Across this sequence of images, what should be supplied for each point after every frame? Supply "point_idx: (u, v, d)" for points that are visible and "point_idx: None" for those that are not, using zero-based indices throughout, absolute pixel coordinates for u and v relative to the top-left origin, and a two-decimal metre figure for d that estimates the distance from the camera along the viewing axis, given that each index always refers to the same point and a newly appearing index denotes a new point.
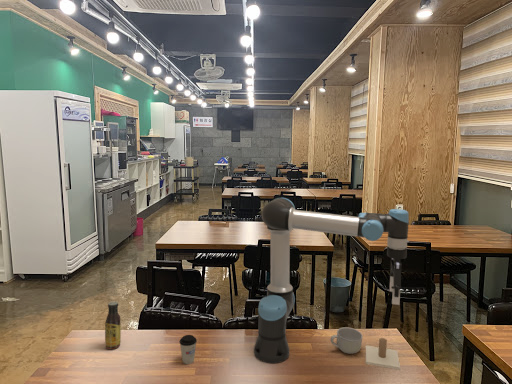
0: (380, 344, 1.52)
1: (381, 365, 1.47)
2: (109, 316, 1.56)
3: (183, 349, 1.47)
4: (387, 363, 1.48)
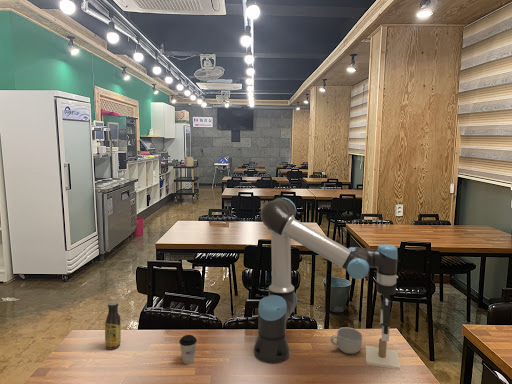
0: (380, 344, 1.52)
1: (381, 365, 1.47)
2: (109, 316, 1.56)
3: (183, 349, 1.47)
4: (387, 363, 1.48)
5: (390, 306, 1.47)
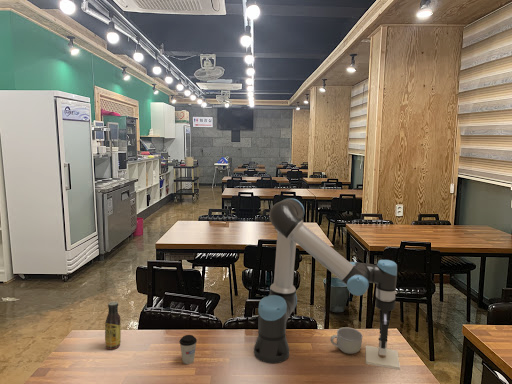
0: None
1: (381, 365, 1.47)
2: (109, 316, 1.56)
3: (183, 349, 1.47)
4: (387, 363, 1.48)
5: (388, 322, 1.49)
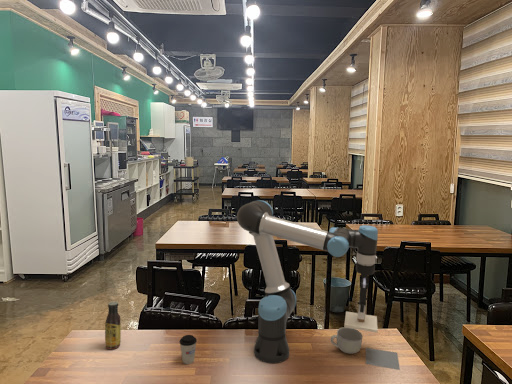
0: None
1: (359, 328, 1.49)
2: (109, 316, 1.56)
3: (183, 349, 1.47)
4: (365, 326, 1.50)
5: None
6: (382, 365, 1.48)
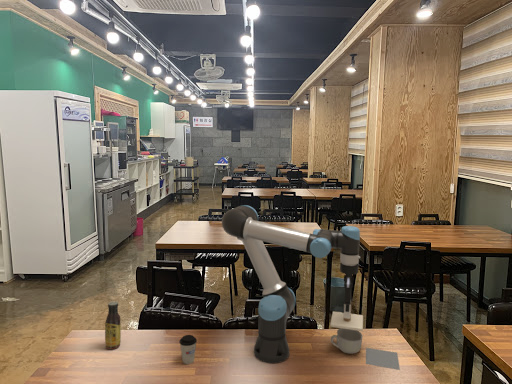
0: None
1: (345, 327, 1.52)
2: (109, 316, 1.56)
3: (183, 349, 1.47)
4: (351, 325, 1.52)
5: (352, 286, 1.53)
6: (382, 365, 1.48)
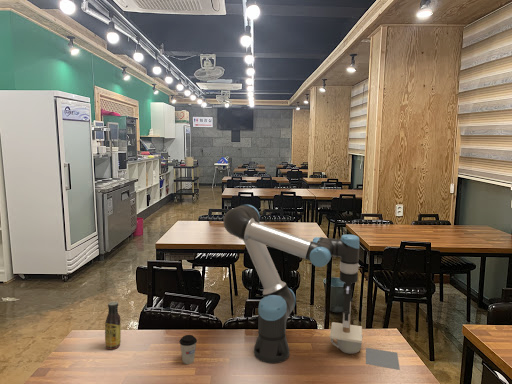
0: None
1: (344, 339, 1.52)
2: (109, 316, 1.56)
3: (183, 349, 1.47)
4: (350, 337, 1.53)
5: (351, 294, 1.53)
6: (382, 365, 1.48)
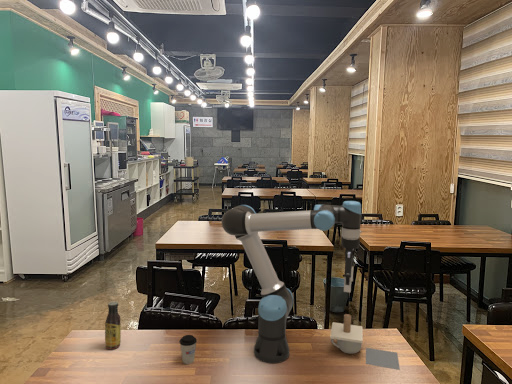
0: (345, 319, 1.57)
1: (345, 339, 1.52)
2: (109, 316, 1.56)
3: (183, 349, 1.47)
4: (351, 337, 1.53)
5: (353, 259, 1.52)
6: (382, 365, 1.48)
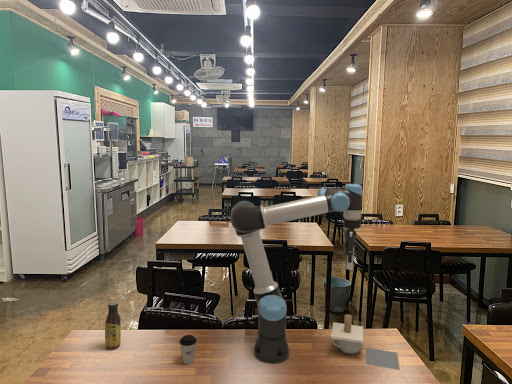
0: (345, 320, 1.57)
1: (345, 339, 1.52)
2: (109, 316, 1.56)
3: (183, 349, 1.47)
4: (351, 337, 1.53)
5: (354, 239, 1.61)
6: (382, 365, 1.48)
